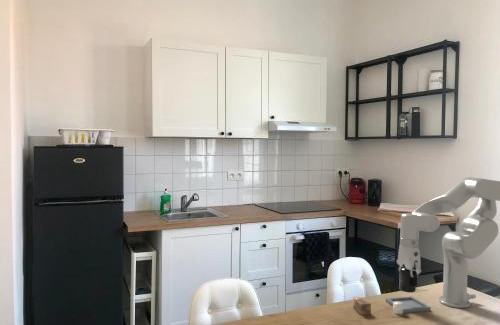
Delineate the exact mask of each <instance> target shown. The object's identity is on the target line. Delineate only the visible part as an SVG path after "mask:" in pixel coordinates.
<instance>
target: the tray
mask: <svg viewBox="0 0 500 325" xmlns="http://www.w3.org/2000/svg"><path fill="white" fill-rule="evenodd" d="M395 301H398V302H402V303H403V314H404V313H417V312H427V311H429V312H430V311H431V310H432V309H431V308H432V307H431V306H430V305H428V304H426V303H424V302H422V301H421V300H419V299H418V298H415V297H414V296H412V295H411V296H400V297H399V296H398V297H397V296H395V297H386V298H385V302H386V303H388V304H389V305H390V306H392V307H393V302H395Z"/></svg>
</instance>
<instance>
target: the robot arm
mask: <svg viewBox="0 0 500 325" xmlns="http://www.w3.org/2000/svg"><path fill="white" fill-rule="evenodd" d="M473 198H476V199H477V203H476V206H475V207H474V208H473V209H472V210H471V211H470V212H469V213H468V214H467V215H466V217H465V218H463V220H462V221H461V222H460V225H459V229H460V230H461V232H458V231H448V232H446V233H444V235H443V237H442V239H441V246H442V252H443V277H442V278H443V280H442V284H443V285H442V295H441V296H439V297H438V302H439V303H441V304H442V305H445V306H447V307H450V308H456V309H458V308H459V309H467V308H469V307H471V301H470V299H471V300H472V299H476V298H477V295H476V294H475V293H470V294H469V293H468V274H469V273H468V272H469V271H468V268H469V267H468V266H469V265H468V260H469V259H470V260H473V259H477V258H478V257H480V256H481V255H482V254H483V253H484V252H485V251H486V250H487V249H488V247H490V245H491V244H493V242H494V241H495V240H496V238H497V237H498V234H499V225H498V223H497V222H496V221H495V220H494V219H495V217H496V216H497V212H498V210H497V202H496V201H498V202H500V181H499V180H494V179H488V178H487V179H486V178H480V177H465V178H462V179H461V180H460V181H459V182H457V183H455V185H453V186H452V187H451V188H450V189H448V190H447V191H446V192H445V193H444V194H442V195H440V196H437V197H435V198H433V199H431V200H427V201H426V202H424V203H422V204H421V205H420V206H419V205H418V207H417V208H416V209H414V210H413V211H412V212H411V213H408V212H406V213H402V214H401V215H400V231H399V233H400V234H399V246H398V252H397V253H398V255H397V259H396V260H395V261H396V262H395V263H396V264H397V267H398V278H399V277H400V269H401V268H403V266H402V265H403V264H404V265H405V267H406V269H408V270H410V275H411V277H410V283H409V285H410V286H416V287H417V285H418V277H419V275H420V274H421V272H422V269H421V251H420V247H419V244H420V243H419V241H420V240H419V239H420V234H419V233H420V232H426V233H427V232H428V233H429V232H430V233H431V232H432V233H433V232H435V231H437V230H438V229H439V228H440V225H441V223H440V219H439V218H438V217H437V215H440V214H446V213H453V212H455V211H457V210H459V209H460V208H461V207H463V205H465V204H466V203H467V202H469V201H470V200H471V199H473ZM413 268H414V269H413ZM413 271H414V273H413Z"/></svg>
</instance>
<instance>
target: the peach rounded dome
mask: <svg viewBox="0 0 500 325" xmlns="http://www.w3.org/2000/svg"><path fill="white" fill-rule="evenodd" d="M356 300H364V299H363V297H361V296H353V297H352V308H353V309H354V310H355V306H356Z"/></svg>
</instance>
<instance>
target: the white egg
mask: <svg viewBox="0 0 500 325" xmlns="http://www.w3.org/2000/svg"><path fill="white" fill-rule="evenodd" d="M392 313H393V314H394V315H403V314H404V313H403V303H402V302H398V301H395V302H393V306H392Z"/></svg>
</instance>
